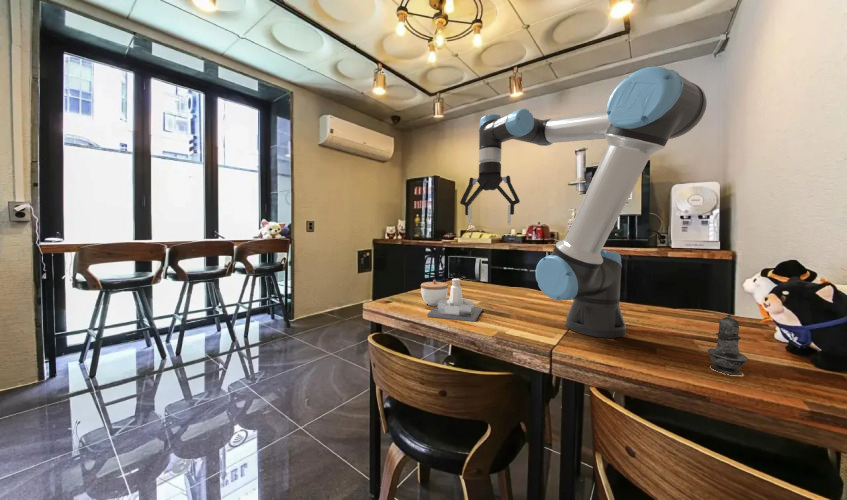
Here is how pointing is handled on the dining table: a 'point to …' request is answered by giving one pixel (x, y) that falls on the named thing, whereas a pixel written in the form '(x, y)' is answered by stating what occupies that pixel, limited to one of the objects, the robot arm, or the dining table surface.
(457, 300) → the salt shaker
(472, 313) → the grey ashtray on slab
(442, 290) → the lidded jar
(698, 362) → the dining table surface
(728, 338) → the grey stone tiered piece
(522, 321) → the dining table surface
